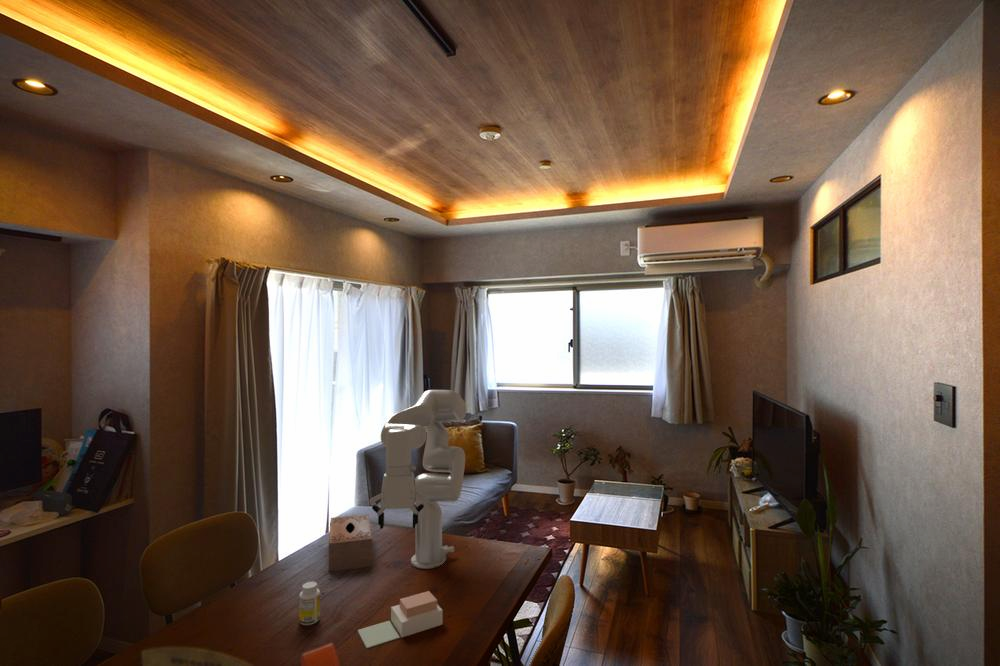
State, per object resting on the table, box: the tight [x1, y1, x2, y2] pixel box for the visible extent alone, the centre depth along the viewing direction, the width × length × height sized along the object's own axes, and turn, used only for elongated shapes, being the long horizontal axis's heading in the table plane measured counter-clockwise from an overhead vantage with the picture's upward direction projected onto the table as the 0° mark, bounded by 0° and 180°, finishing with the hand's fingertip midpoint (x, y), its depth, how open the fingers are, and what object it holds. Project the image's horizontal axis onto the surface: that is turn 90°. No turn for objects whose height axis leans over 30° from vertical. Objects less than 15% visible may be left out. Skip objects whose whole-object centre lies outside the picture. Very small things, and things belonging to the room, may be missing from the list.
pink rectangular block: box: [399, 590, 438, 618], centre depth 140 cm, size 9×6×2 cm, turn 121°
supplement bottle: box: [298, 581, 321, 626], centre depth 140 cm, size 6×6×10 cm
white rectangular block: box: [390, 603, 444, 638], centre depth 140 cm, size 12×9×4 cm
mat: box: [357, 620, 401, 649], centre depth 134 cm, size 9×9×1 cm
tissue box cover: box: [328, 513, 373, 573], centre depth 185 cm, size 26×14×10 cm, turn 18°
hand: (398, 526), depth 149 cm, fingers open, 9 cm apart
